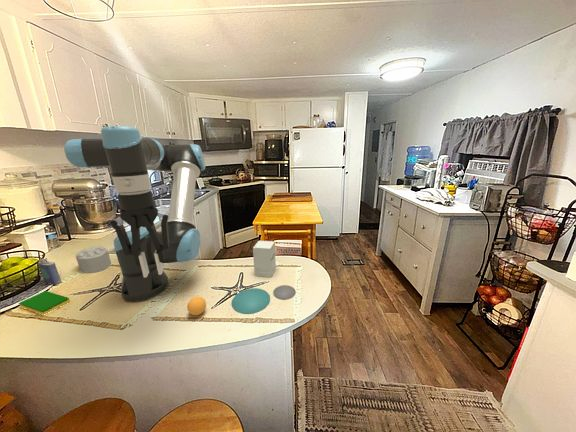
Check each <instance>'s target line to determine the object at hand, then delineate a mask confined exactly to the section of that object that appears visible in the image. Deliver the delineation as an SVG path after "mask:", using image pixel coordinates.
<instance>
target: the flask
mask: <svg viewBox="0 0 576 432" xmlns="http://www.w3.org/2000/svg"><path fill="white" fill-rule="evenodd" d="M38 261H39V262H38ZM38 261H37V262H38V263H37V265H38V267H39V270H40V273H41V275H42V279H43V282H44V281H45V282H47V283H51V284H50V285H52V284H53V285H52V286H54V285H55V286H56V285H59V284H61V283H62V280H61V276H60V273H59V271H58V269H57V266H56V263H55V262H53V261H48V258H47V257H45V258H40V259H39V260H38ZM45 282H44V283H45ZM47 283H46V284H47Z"/></svg>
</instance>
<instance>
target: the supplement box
mask: <svg viewBox="0 0 576 432" xmlns="http://www.w3.org/2000/svg"><path fill="white" fill-rule="evenodd" d="M275 245H276V243H275V241H273V240H258V241H257V242H256V243H255V245H254V246H253V247H252V257H253V268H254V269H253V270H254V276H256V277H264V278H265V277H267V278H272V277H273V274H274V272H275V270H276V268H277V266H276V265H277V263H276V262H277V261H276V246H275Z"/></svg>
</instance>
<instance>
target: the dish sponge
mask: <svg viewBox="0 0 576 432" xmlns="http://www.w3.org/2000/svg"><path fill="white" fill-rule="evenodd" d="M67 303H68V304H70V303H71V300H70V297H68V296H65V295H61V294H57V293H55V292H52V291H47V290H43V291H42V292H40V293H37V294H35V295H33V296H31V297H29V298H27V299H25V300H22V301H20V302H19V303H18V305H19V306H21V307H23V308H26V309H28V310H27V311H29V310H31V311H34V312H37V313H40V314H43V315H44V314H46V313H48V312H50V311H52V310H54V309H56V308H58V307H60V306H63V305H65V304H66V305H68V304H67ZM66 305H65V306H66ZM21 307H20V308H21ZM63 307H64V306H63ZM23 308H22V309H23ZM26 309H25V310H26ZM31 311H30V312H31ZM34 312H33V313H34ZM37 313H36V314H37ZM40 314H39V315H40ZM43 315H42V316H43Z"/></svg>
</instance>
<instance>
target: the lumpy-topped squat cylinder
mask: <svg viewBox="0 0 576 432" xmlns="http://www.w3.org/2000/svg"><path fill="white" fill-rule="evenodd" d="M75 259H76V262H77V265H78V268H79V270H80V272H82V273H83V274H96V273H99V272H103V271H105V270H107V269H109V268H110V267H111V265H112V260H111V257H110V255H109V250H108V249H107V248H106V247H105V246H103V245H102V246H91V247H88V248H84V249H82V250H80V251H79V252H77V253H75Z"/></svg>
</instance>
